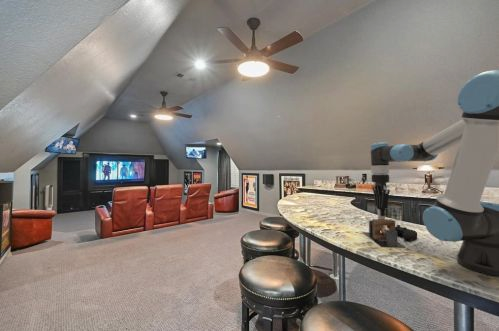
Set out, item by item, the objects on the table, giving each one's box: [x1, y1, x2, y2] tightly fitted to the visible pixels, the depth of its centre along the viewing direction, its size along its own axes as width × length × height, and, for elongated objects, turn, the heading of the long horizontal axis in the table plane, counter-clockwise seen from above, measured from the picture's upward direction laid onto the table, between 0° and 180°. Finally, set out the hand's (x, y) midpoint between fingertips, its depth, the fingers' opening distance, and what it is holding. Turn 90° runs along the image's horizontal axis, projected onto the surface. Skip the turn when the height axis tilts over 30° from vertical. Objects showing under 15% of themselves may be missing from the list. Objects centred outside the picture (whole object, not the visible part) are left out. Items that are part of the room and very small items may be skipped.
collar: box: [371, 218, 396, 240], centre depth 106 cm, size 3×9×9 cm, turn 83°
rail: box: [362, 219, 406, 249], centre depth 108 cm, size 21×10×7 cm, turn 173°
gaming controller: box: [395, 224, 418, 242], centre depth 111 cm, size 14×6×10 cm
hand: (381, 222), depth 108 cm, fingers closed
